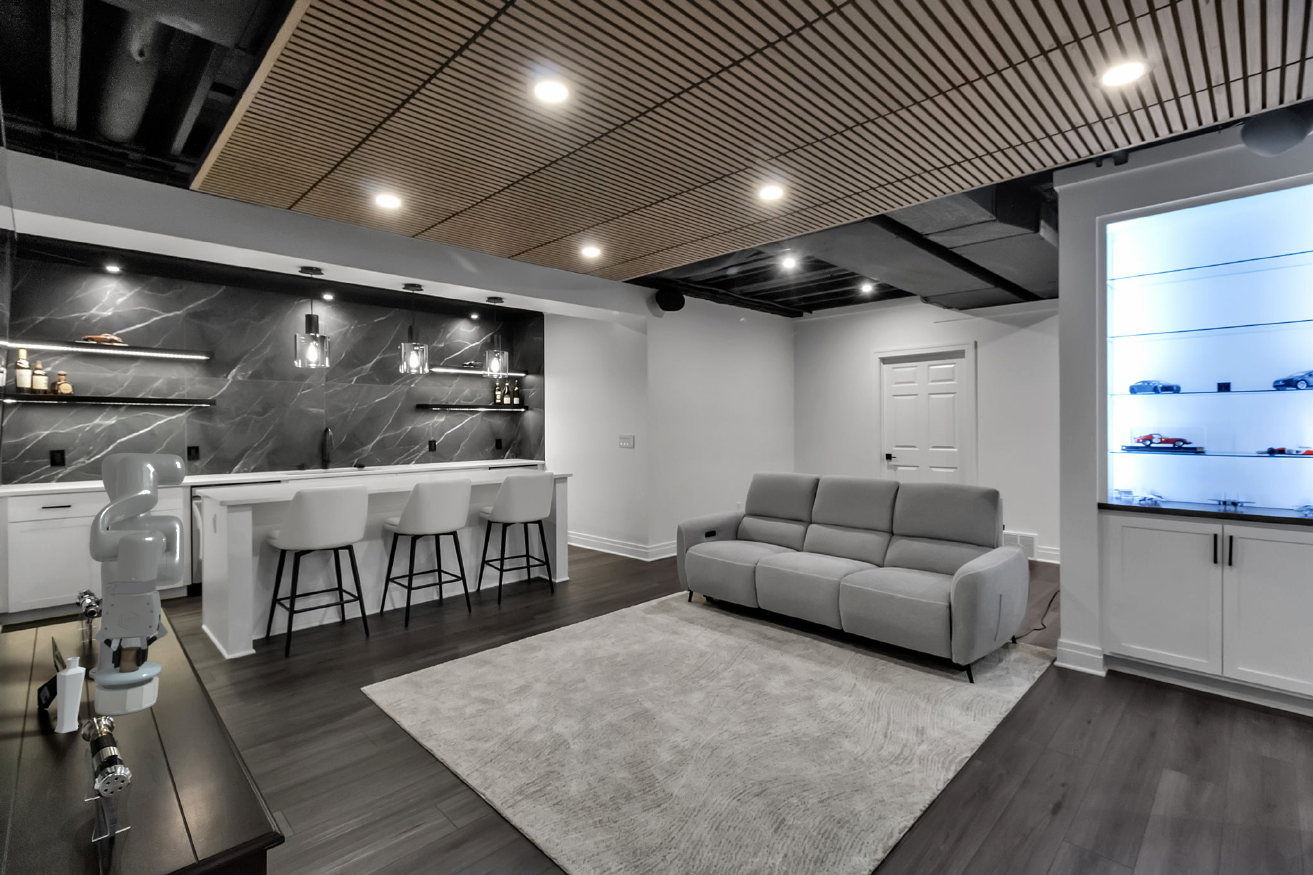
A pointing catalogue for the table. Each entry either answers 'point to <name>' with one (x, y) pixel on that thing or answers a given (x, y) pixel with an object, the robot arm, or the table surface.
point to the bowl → (125, 697)
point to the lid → (128, 669)
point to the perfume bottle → (69, 695)
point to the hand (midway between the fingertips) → (129, 664)
